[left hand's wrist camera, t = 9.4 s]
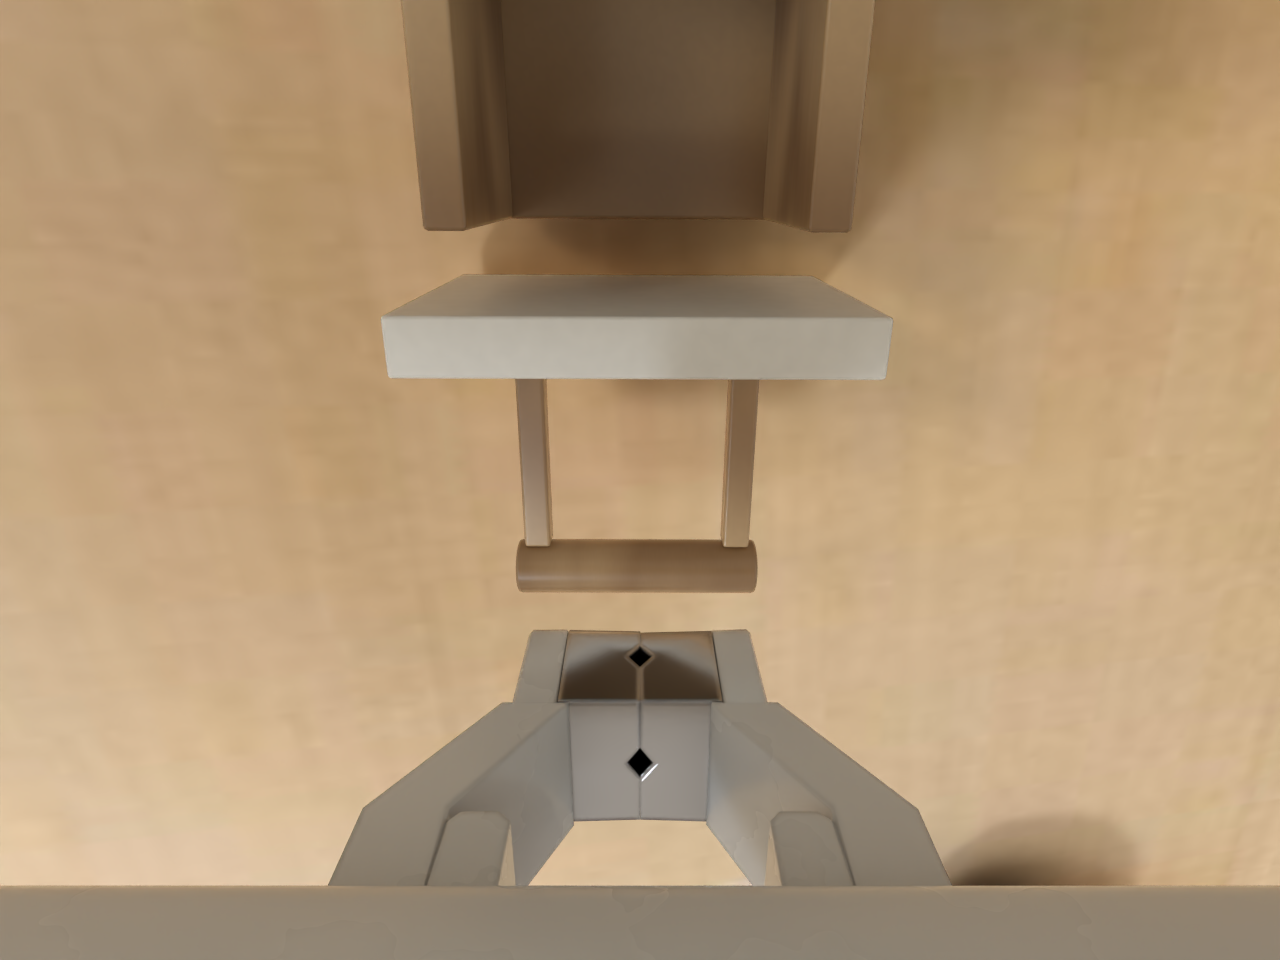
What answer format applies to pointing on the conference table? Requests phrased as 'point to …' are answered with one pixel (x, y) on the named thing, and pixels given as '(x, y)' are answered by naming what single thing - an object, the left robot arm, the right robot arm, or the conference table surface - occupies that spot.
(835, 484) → the conference table surface
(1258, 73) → the conference table surface
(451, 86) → the drawer
